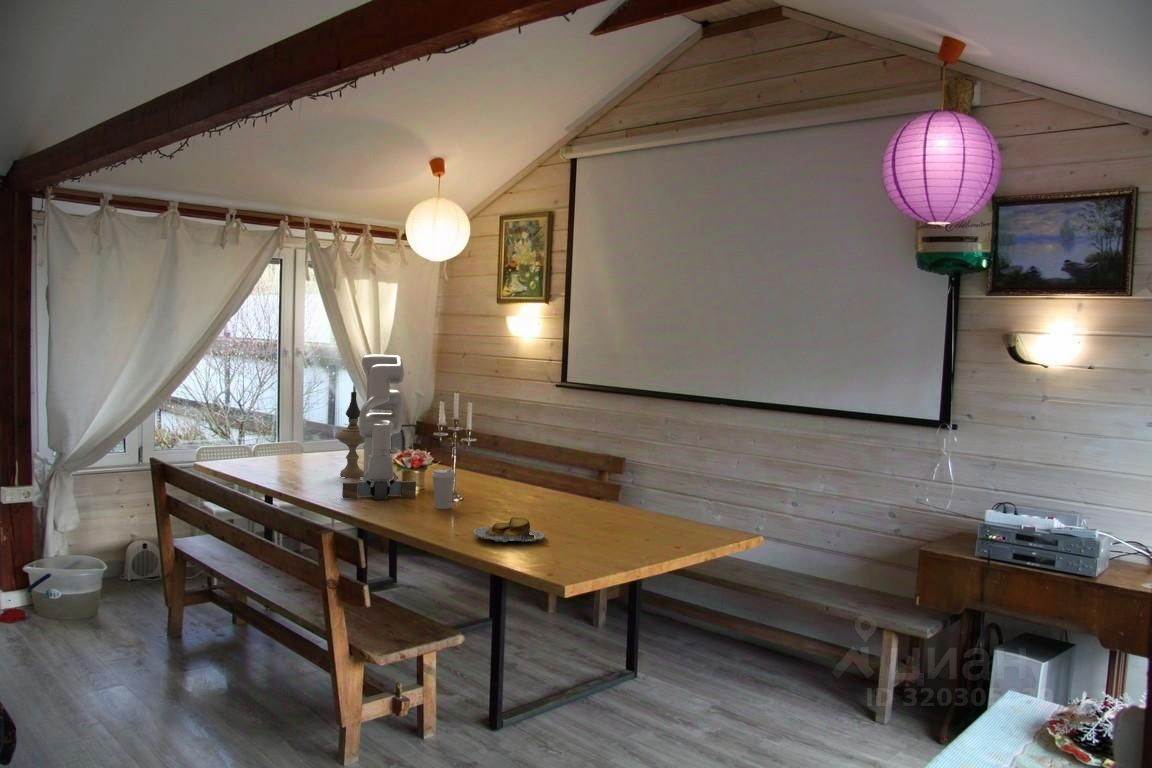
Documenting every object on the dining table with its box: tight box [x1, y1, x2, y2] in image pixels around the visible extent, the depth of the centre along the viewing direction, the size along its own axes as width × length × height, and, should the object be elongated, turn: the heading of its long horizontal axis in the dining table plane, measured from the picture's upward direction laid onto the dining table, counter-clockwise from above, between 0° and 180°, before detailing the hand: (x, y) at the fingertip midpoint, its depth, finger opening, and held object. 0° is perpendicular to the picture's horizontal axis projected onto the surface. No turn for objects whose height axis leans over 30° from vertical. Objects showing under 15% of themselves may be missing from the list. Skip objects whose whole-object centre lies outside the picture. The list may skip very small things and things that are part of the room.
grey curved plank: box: [357, 480, 402, 497], centre depth 366 cm, size 2×18×6 cm, turn 108°
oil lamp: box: [336, 391, 364, 479], centre depth 407 cm, size 15×15×40 cm
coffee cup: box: [431, 468, 457, 510], centre depth 348 cm, size 10×10×15 cm
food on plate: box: [472, 516, 547, 543], centre depth 302 cm, size 25×25×7 cm
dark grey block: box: [373, 480, 388, 501], centre depth 361 cm, size 7×5×7 cm
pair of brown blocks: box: [341, 480, 417, 499], centre depth 363 cm, size 2×30×6 cm, turn 108°
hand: (379, 495), depth 361 cm, fingers closed on dark grey block, 5 cm apart
